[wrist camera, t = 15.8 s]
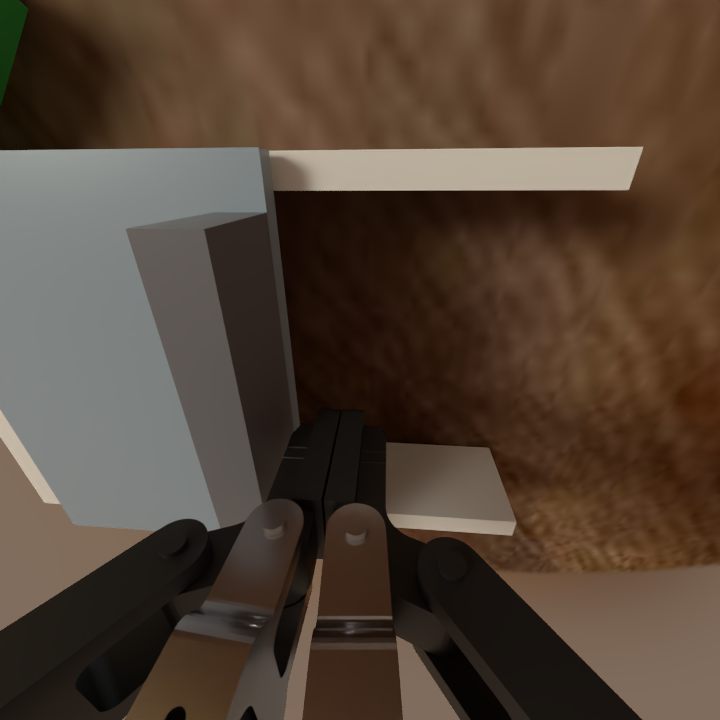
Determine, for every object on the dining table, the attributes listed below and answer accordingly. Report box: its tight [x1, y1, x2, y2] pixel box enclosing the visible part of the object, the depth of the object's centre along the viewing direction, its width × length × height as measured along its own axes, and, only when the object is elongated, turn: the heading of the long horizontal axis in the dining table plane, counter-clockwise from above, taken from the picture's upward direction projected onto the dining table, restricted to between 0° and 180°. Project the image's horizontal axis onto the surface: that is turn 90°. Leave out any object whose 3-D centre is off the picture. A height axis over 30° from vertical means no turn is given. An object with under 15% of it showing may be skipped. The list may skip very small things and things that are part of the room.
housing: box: [0, 147, 643, 535], centre depth 16 cm, size 24×16×5 cm, turn 90°
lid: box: [0, 147, 300, 531], centre depth 11 cm, size 12×16×4 cm
